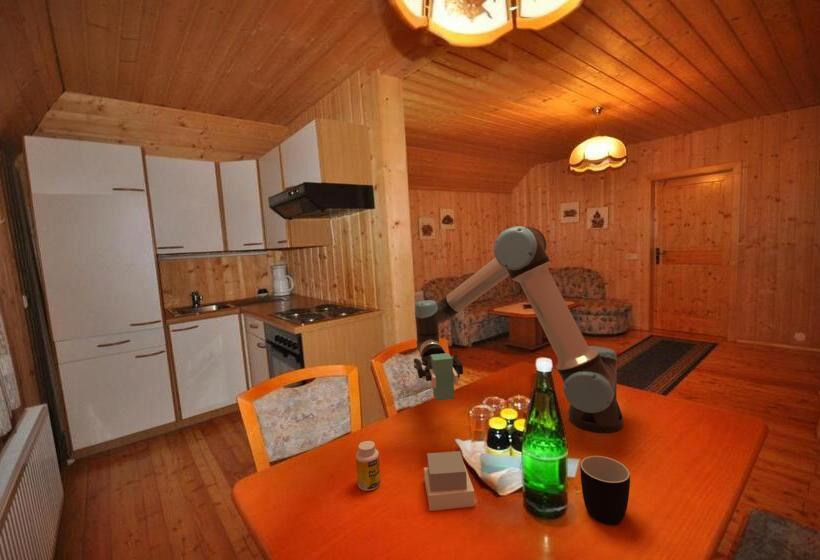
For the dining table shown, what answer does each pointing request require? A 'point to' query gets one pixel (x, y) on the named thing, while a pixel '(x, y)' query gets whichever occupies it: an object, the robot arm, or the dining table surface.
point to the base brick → (449, 495)
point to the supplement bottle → (368, 466)
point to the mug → (605, 489)
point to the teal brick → (443, 376)
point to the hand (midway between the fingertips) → (445, 381)
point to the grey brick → (446, 471)
